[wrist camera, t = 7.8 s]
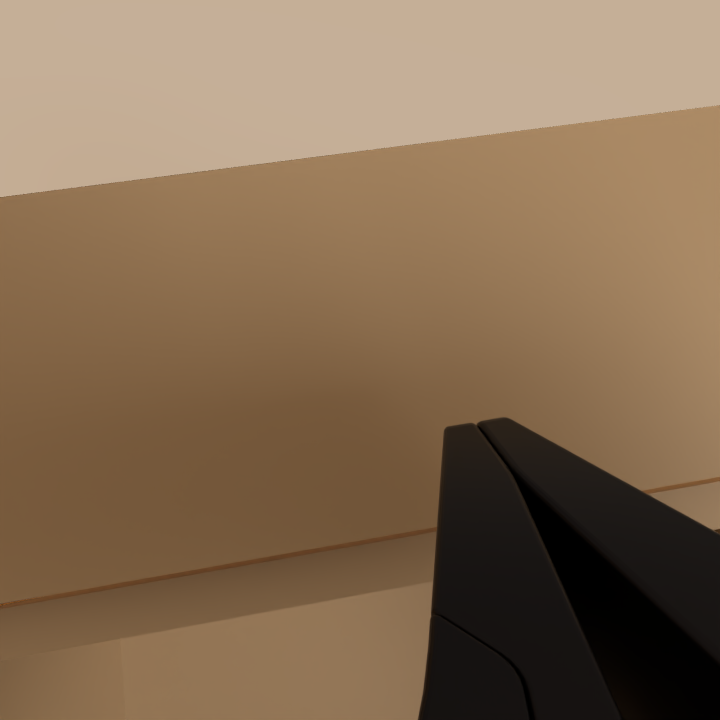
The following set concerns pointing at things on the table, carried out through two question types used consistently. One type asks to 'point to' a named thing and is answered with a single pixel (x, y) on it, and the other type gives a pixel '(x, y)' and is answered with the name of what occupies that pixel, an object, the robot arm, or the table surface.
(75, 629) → the shipping carton
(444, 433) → the robot arm
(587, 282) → the carton flap
